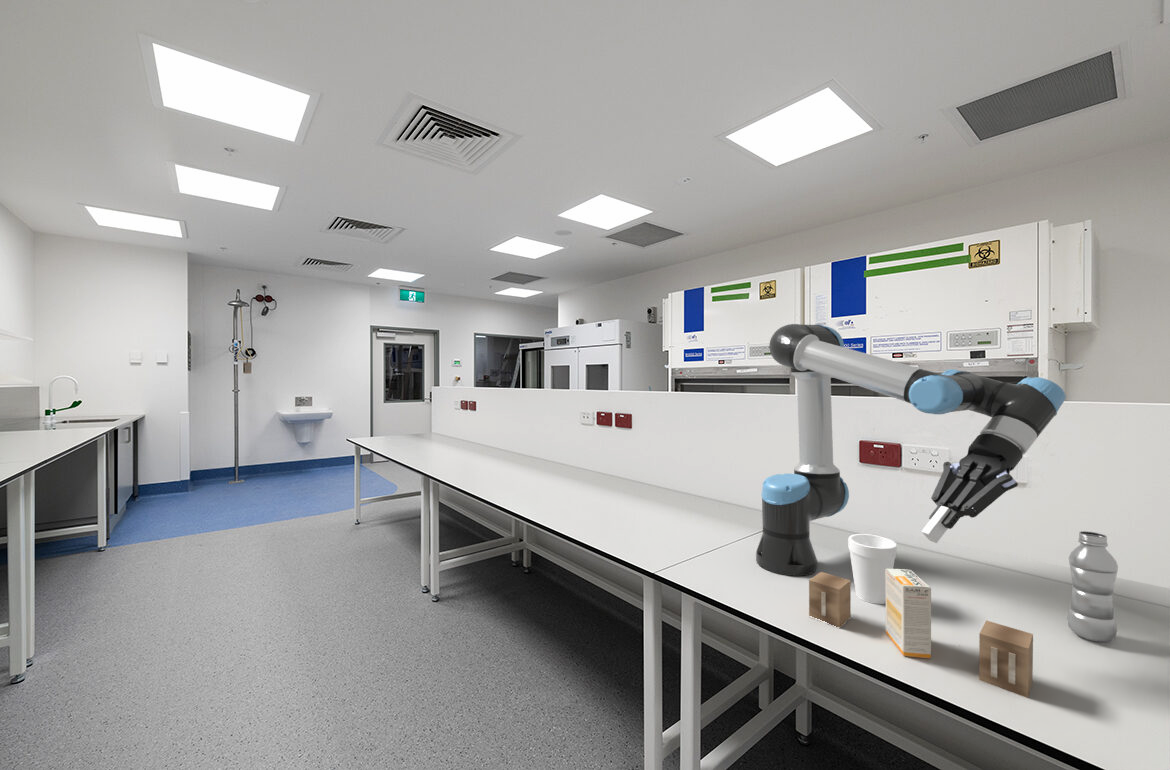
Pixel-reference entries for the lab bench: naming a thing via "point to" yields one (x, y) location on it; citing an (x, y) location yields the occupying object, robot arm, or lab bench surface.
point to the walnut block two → (1006, 658)
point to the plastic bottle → (1092, 589)
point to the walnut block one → (830, 598)
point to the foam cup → (871, 565)
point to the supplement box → (908, 612)
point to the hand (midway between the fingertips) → (928, 537)
